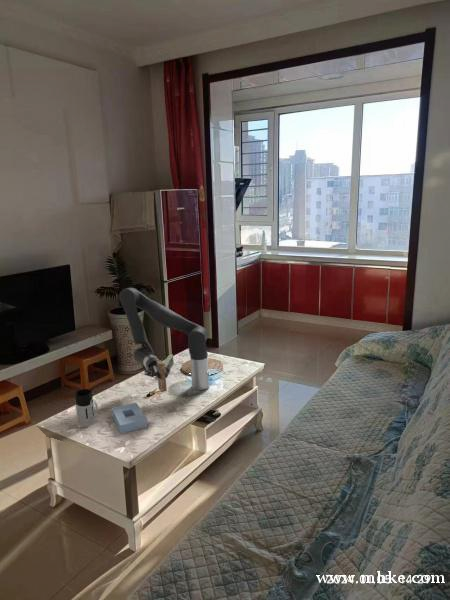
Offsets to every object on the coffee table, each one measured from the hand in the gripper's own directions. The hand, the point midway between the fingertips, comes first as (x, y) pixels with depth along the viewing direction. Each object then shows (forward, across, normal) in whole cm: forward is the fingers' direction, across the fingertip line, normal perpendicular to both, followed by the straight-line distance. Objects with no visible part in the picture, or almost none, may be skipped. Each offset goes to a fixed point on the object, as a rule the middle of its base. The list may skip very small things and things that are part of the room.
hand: (163, 376), depth 202 cm
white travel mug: (-10, -34, +20) cm, 40 cm away
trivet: (-44, +38, +21) cm, 61 cm away
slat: (-3, 0, +8) cm, 9 cm away
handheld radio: (-49, +16, +20) cm, 56 cm away
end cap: (-3, -17, +20) cm, 26 cm away
